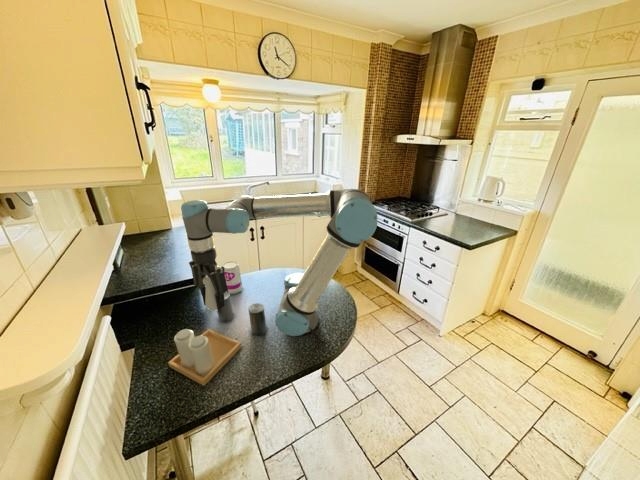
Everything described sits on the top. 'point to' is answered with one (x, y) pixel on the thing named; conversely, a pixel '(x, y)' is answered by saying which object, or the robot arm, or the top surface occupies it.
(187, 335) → the white shaker
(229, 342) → the tray
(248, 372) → the top surface
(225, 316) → the grey canister far
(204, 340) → the white shaker
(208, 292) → the salt shaker
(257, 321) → the grey canister near
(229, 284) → the supplement can
